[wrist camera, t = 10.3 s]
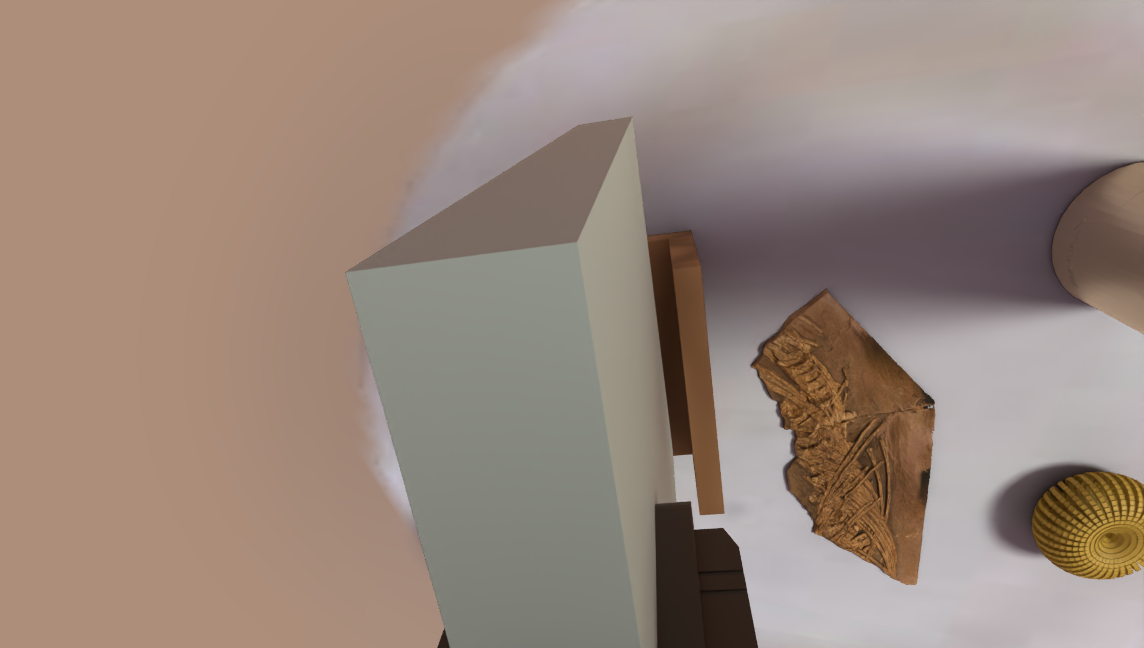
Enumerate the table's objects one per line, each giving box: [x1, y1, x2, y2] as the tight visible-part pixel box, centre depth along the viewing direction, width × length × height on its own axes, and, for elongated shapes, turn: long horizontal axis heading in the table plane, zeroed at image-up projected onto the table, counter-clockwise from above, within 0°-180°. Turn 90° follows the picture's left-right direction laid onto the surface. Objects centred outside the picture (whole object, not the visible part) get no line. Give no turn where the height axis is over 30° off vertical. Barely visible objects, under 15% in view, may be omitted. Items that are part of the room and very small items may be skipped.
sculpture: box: [1032, 472, 1144, 579], centre depth 46 cm, size 8×4×8 cm
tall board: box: [346, 117, 676, 648], centre depth 17 cm, size 2×14×20 cm, turn 9°
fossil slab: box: [752, 289, 935, 585], centre depth 48 cm, size 26×11×1 cm, turn 20°
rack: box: [647, 230, 724, 515], centre depth 43 cm, size 16×16×8 cm
